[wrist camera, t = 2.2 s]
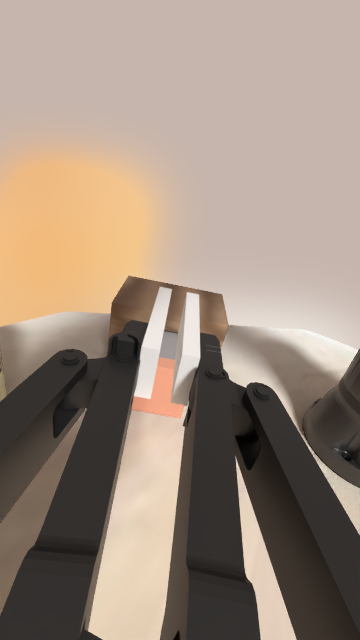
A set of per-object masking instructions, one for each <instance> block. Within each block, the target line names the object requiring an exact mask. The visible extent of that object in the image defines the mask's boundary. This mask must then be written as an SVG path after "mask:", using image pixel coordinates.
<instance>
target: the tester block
mask: <svg viewBox="0 0 360 640" xmlns="http://www.w3.org/2000/svg"><path fill="white" fill-rule="evenodd" d="M160 287H164V288H169V289H172V292H171V297H170V303H169V308H168V313H167V318H166V323H165V328H164V330H166V331H171V332H177V333H178V331H179V326H180V321H181V317H182V312H183V308H184V303H185V299H186V294H187V292H189V293H194V294H199V317H200V332H201V333H207V334H212V335H215V336H216V337H217V338H218V340H219V341H220V348H221V347H222V344H223V341H224V337H225V334H226V331H227V328H228V321H227V316H226V311H225V306H224V302H223V296H222V294H217V293H213V292H208V291H202V290H198V289H192V288H187V287H183V286H178V285H173V284H168V283H163V282H157V281H152V280H147V279H142V278H137V277H132V276H128V278H127V279H126V281H125V283H124V284H123V286H122V287H121V289H120V291H119V292H118V294H117V295H116V297H115V298H114V300H113V302H112V307H111V319H110V331H109V338H110V337H111V336H112V335H113V334H116V333H120V332H122V331H123V329H124V326H125V324H126V323H128V322H129V321H131V320H136V321H141V322H146V323H149V321H150V317H151V314H152V311H153V308H154V304H155V301H156V298H157V294H158V291H159V288H160ZM108 347H109V343H108ZM107 356H108V354H107Z"/></svg>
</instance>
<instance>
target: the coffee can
mask: <svg viewBox="0 0 360 640" xmlns="http://www.w3.org/2000/svg"><path fill="white" fill-rule="evenodd" d="M6 396H7V392H6V388H5V380H4V372H3V364H2V357H1V348H0V401H1V400H3V399H4V398H5V397H6Z"/></svg>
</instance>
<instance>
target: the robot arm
mask: <svg viewBox="0 0 360 640" xmlns="http://www.w3.org/2000/svg"><path fill="white" fill-rule="evenodd" d="M171 292H172V289H169V288H164V287H160V288H159V291H158V294H157V298H156V301H155V304H154V308H153V311H152V314H151V317H150V321H149V323H146V322H141V321H136V320H131V321H129V322H128V323H126V324H125V326H124V329H123V331H122V332H120V333H116V334H113V335H112V336H111V337H110V338H109V347H108V356H107V357H104V358H100V359H87V355H86V354H85V353H84V352H82V351H80V350H75V349H66V350H63V351H60V352H58V353H56V354H55V355H54V356H52V357H51V358H50V359H49V360H48V361H47V362H46V363H44V364H43V365H42V366H41V367H40V368H39V369H37V370H36V371H35V372H34V373H33V374H32V375H30V376H29V377H28V378H27V379H26V380H25V381H23V382H22V383H21V384H20V385H19V386H18V387H17V388H15V389H14V390H13V391H12V392H11V393H10V394H8V395H7V396H6V397H5V398H4V399H3V400H1V401H0V522H1V521H2V520H3V518H4V517H5V516H6V514H7V513H8V512H9V510H10V509H11V508H12V506H13V505H14V504H15V502H16V501H17V500H18V498H19V497H20V496H21V494H22V493H23V492H24V490H25V489H26V488H27V486H28V485H29V484H30V482H31V481H32V480H33V478H34V477H35V476H36V474H37V473H38V472H39V470H40V469H41V468H42V466H43V465H44V464H45V462H46V461H47V460H48V458H49V457H50V456H51V454H52V453H53V452H54V450H55V449H56V448H57V446H58V445H59V444H60V442H61V441H62V440H63V438H64V437H65V436H66V434H67V433H68V432H69V430H70V429H71V428H72V426H73V425H74V424H75V422H76V421H77V420H78V418H79V417H80V416H81V414H82V413H83V412H84V409H85V408H87V411H86V413H85V416H84V419H83V421H82V424H81V427H80V429H79V432H78V434H77V437H76V440H75V442H74V445H73V448H72V450H71V453H70V455H69V458H68V461H67V463H66V466H65V469H64V471H63V474H62V476H61V479H60V482H59V484H58V487H57V490H56V492H55V495H54V497H53V500H52V503H51V505H50V508H49V511H48V513H47V516H46V518H45V521H44V524H43V526H42V529H41V532H40V534H39V537H38V539H37V541H36V543H35V545H34V546H33V547H32V548H31V549H30V550H29V551H28V552H27V554H26V556H25V557H24V559H23V562H22V564H21V566H20V568H19V571H18V573H17V576H16V578H15V581H14V583H13V586H12V588H11V591H10V593H9V596H8V598H7V601H6V603H5V606H4V608H3V611H2V613H1V616H0V640H102V639H100V638H99V637H97V636H95V635H94V634H92V633H90V632H88V627H89V621H90V616H91V610H92V604H93V599H94V594H95V589H96V584H97V579H98V574H99V569H100V564H101V559H102V554H103V549H104V544H105V539H106V534H107V529H108V524H109V519H110V514H111V509H112V504H113V499H114V494H115V489H116V484H117V479H118V474H119V469H120V464H121V459H122V454H123V449H124V444H125V439H126V434H127V429H128V424H129V419H130V414H131V409H132V404H133V397H134V396H136V397H142V398H147V399H151V394H152V389H153V384H154V379H155V374H156V369H157V364H158V359H159V354H160V349H161V344H162V339H163V334H164V328H165V323H166V318H167V313H168V308H169V303H170V297H171ZM188 400H189V406H188V410H187V413H186V417H185V420H184V424H183V426H185V431H184V440H183V450H182V459H181V468H180V478H179V487H178V497H177V506H176V516H175V525H174V535H173V544H172V553H171V563H170V572H169V582H168V591H167V601H166V608H165V615H164V620H163V624H162V630H161V636H160V640H261V639H260V629H259V620H258V610H257V603H256V596H255V592H254V589H253V585H252V583H251V582H250V581H249V580H248V579H247V577H246V574H245V568H244V558H243V546H242V533H241V521H240V508H239V496H238V484H237V471H236V459H235V455H236V458H237V461H238V464H239V467H240V470H241V473H242V476H243V479H244V482H245V485H246V488H247V491H248V494H249V497H250V500H251V503H252V506H253V509H254V512H255V515H256V518H257V521H258V524H259V527H260V530H261V533H262V536H263V539H264V542H265V545H266V548H267V551H268V554H269V557H270V560H271V563H272V566H273V569H274V573H275V576H276V579H277V582H278V585H279V588H280V591H281V594H282V597H283V600H284V603H285V606H286V609H287V612H288V615H289V618H290V621H291V624H292V627H293V630H294V633H295V636H296V639H297V640H360V535H359V534H358V532H357V530H356V528H355V527H354V525H353V523H352V522H351V520H350V518H349V517H348V515H347V513H346V511H345V510H344V508H343V506H342V505H341V503H340V501H339V500H338V498H337V496H336V494H335V493H334V491H333V489H332V488H331V486H330V484H329V483H328V481H327V479H326V477H325V476H324V474H323V472H322V471H321V469H320V467H319V466H318V464H317V462H316V460H315V459H314V457H313V455H312V454H311V452H310V450H309V449H308V447H307V445H306V443H305V442H304V440H303V438H302V437H301V435H300V433H299V432H298V430H297V428H296V426H295V425H294V423H293V421H292V420H291V418H290V416H289V415H288V413H287V411H286V409H285V408H284V406H283V404H282V403H281V401H280V399H279V398H278V396H277V394H276V393H275V392H274V390H273V389H271V388H270V387H268V386H267V385H264V384H262V383H257V382H255V383H250V384H248V385H247V387H246V388H245V387H243V386H240V385H238V384H236V383H234V382H232V381H231V380H229V376H228V373H227V372H226V371H225V370H224V369H223V363H222V356H221V348H220V341H219V340H218V338H217V337H216V336H215V335H212V334H207V333H201V332H200V317H199V294H194V293H189V292H187V294H186V299H185V303H184V308H183V312H182V317H181V321H180V326H179V331H178V340H177V349H176V358H175V367H174V376H173V385H172V394H171V403H175V404H180V405H186V406H187V404H188ZM303 428H304V432H305V435H306V438H307V440H308V442H309V444H310V445H311V447H312V448H313V450H314V451H315V452H316V454H317V455H318V456H319V457H320V458H321V460H322V461H323V462H324V463H325V464H326V465H327V466H328V467H330V468H331V469H332V470H333V471H334V472H336V473H337V474H338V475H339V476H341V477H342V478H344V479H345V480H347V481H348V482H350V483H352V484H353V485H355V486H357V487H359V488H360V349H359V351H358V352H357V354H356V356H355V357H354V359H353V361H352V362H351V364H350V366H349V367H348V369H347V371H346V372H345V374H344V376H343V377H342V379H341V381H340V382H339V384H338V385H337V386H336V387H334V388H333V389H332V390H330V391H329V392H328V393H327V394H326V395H325V396H324V397H323V398H320V399H318V400H317V401H315V402H314V403H313V404H312V405H311V406H310V408H309V410H308V411H307V413H306V415H305V417H304V420H303Z"/></svg>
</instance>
